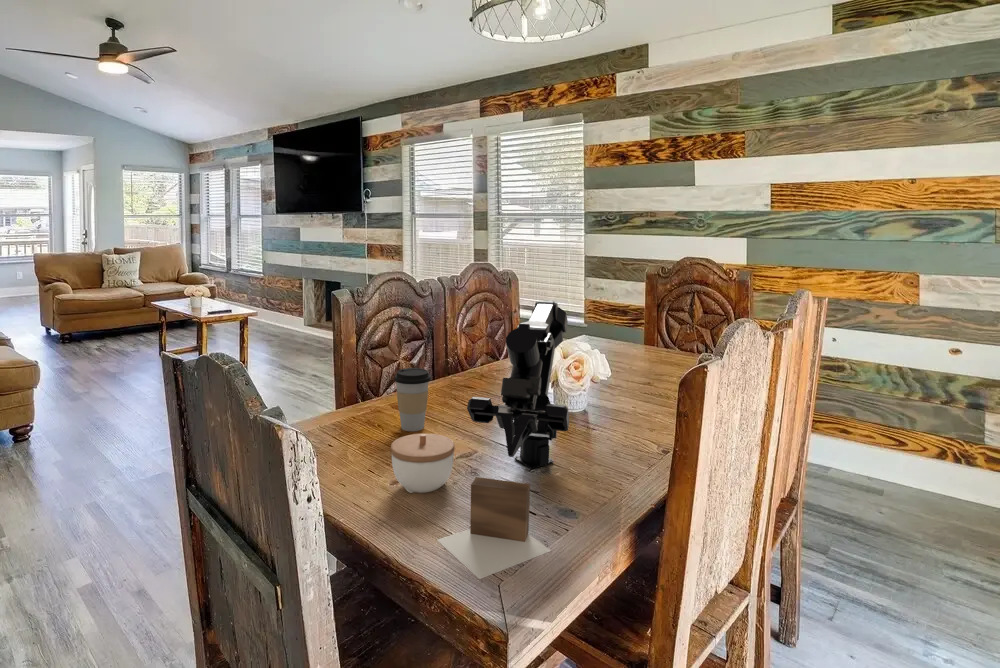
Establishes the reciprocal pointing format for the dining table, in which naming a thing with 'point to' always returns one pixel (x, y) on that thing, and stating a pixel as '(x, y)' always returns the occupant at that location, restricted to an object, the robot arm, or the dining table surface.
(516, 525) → the walnut slab
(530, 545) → the felt mat
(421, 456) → the lidded bowl
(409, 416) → the coffee cup
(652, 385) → the dining table surface
